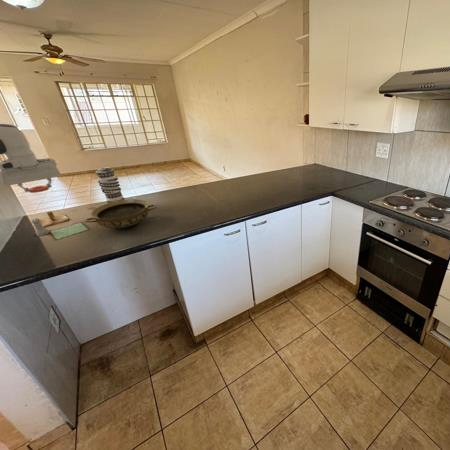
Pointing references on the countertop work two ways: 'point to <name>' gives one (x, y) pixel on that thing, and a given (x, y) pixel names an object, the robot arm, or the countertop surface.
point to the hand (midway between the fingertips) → (38, 189)
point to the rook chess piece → (39, 227)
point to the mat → (68, 231)
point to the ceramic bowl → (121, 213)
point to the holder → (53, 219)
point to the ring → (38, 189)
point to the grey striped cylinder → (109, 184)
